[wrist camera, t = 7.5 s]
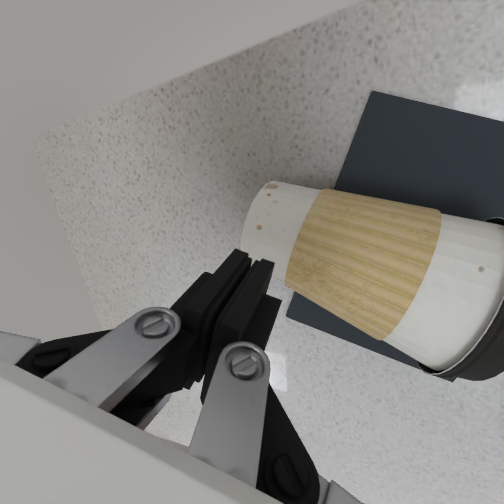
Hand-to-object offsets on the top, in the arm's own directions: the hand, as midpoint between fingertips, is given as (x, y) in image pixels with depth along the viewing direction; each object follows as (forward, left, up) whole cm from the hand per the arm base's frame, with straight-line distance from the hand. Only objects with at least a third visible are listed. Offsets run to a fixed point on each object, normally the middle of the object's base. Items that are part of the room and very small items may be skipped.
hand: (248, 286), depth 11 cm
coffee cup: (+1, -2, -10) cm, 10 cm away
